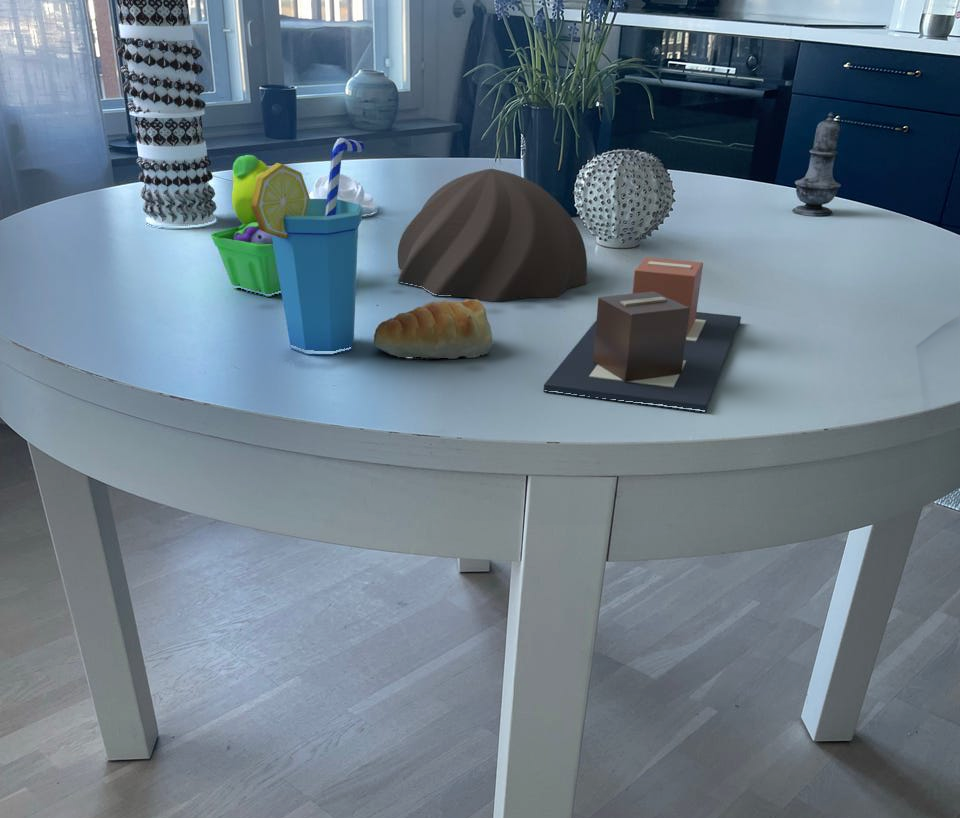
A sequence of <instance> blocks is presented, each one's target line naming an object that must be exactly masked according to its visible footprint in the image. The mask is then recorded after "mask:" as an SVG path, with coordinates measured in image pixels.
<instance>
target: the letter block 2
mask: <svg viewBox="0 0 960 818" xmlns="http://www.w3.org/2000/svg"><path fill="white" fill-rule="evenodd" d="M689 313H690V308H689V307H686V306H684V305H682V304H680V303H678V302H676V301H674V300H672V299H669V298H667V297H665V296H663V295H661V294H659V293H657V292H654V291H653V292H643V293H633V294H632V293H624V294H615V295H606V296H605V295H603V296H598V298H597V309H596V319H595V321H596V332H595V344H594V356H593V362H595V363H596V364H598V365H599V366H601V367H603V368H604V369H606V370H608V371H609V372H611V373H612V374H614V375H616V376H617V377H619V378H620V379H622V380H624V381H633V380H640V379H648V378H655V377H662V376H670V375H677V374H681V373H682V365H683V358H684V350H685V343H686V335H687V328H688V320H689Z"/></svg>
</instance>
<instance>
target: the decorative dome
mask: <svg viewBox="0 0 960 818" xmlns="http://www.w3.org/2000/svg"><path fill="white" fill-rule="evenodd" d="M587 258H588V257H587V251H586V246H585V243H584V239H583V237H582V234H581V232H580V230H579V228H578V226H577V224H576V223H575V221H574V220H573V218H572V217H571V215H570V214H569V213H568V211H567V209H565V208H564V207H563V206H562V204H561V203H560V202H559V201H557V199H555V197H554V196H552V195H551V194H550V193H549V192H548V191H547V190H546V189H544V188H543V187H541V186H540V185H538V184H536V183H535V182H534V181H531V180H529V179H528V178H525V177H523V176H520V175H517V174H515V173H511V172H509V171H504V170H500V169H495V168H487V169H481V170H478V171H474V172H471V173H467V174H464V175H462V176H459V177H457V178H454V179H453V180H451V181H448V182H447V183H446V184H444V185H442V186H441V187H440V188H438V189H437V190H436V191H435V192H434V193H433V194H432V195H431V196H430V197H429V198H428V199H427V200H426V202H425V203H424V205H423V206H422V208H421V210H420V211H419V212H418V213H417V214H416V215H415V216H414V217H413V218H412V220H410V222H409V224H408V225H407V226H406V227H405V229H404V231H403V233H402V234H401V236H400V239H399V242H398V247H397V266H398V269H399V268H400V269H401V270H402V271H401V270H400V269H399V270H400V274H399V277H398V279H397V283H398V284H401V285H405V286H410V287H415V288H419V289H422V290H424V291H425V292H427V293H428V294H430V295H432V296H434V297H439V296H438V295H451V296H442V297H443V298H444V297H449V298H471V299H478V300H481V301H482V300H483V301H488V302H494V303H495V302H496V303H498V302H500V303H501V302H506V301H512V300H517V299H518V300H519V299H522V298H523V299H524V298H556V297H559V296H561V294H563V292H564V291H565V290H567V289H571V288H575V287H580V286H585V285H586V284H587V275H588V259H587ZM398 281H399V282H398ZM400 282H403V283H400ZM404 283H408V284H404ZM409 284H413V285H409ZM414 285H417V286H414ZM418 286H422V287H424V288H425V289H427V290H429V291H430V292H432V293H434V294H437V295H433V294H432V293H430V292H428V291H427V290H425V289H424V288H422V287H418Z"/></svg>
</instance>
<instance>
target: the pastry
mask: <svg viewBox="0 0 960 818" xmlns="http://www.w3.org/2000/svg"><path fill="white" fill-rule="evenodd" d="M487 315H488V314H487V311H486V307H485V306H484V305H483V303H482V301H480V299H476V298H474V299H469V298H466V299H464V300H463V301H448V300H443V301H432V302H429V303H426V304H424V305H423V306H417V307H415V308H414V309H412V310H409V311H406V312H401V313H400V312H399V313H398V314H397V315H396V316H394V317H390V318H388V319H386V320H384V321H382V322H380V323H379V324H378V326H377V327H375V330H374V331H375V332H374V334H373V345H374V346H375V347H376V348H378V349H380V350H381V351H383V352H385V353H388V354H389V355H392V356H395V357H397V358H399V357H402V358H404V357H415V358H405V359H406V360H413V359H417V358H416V357H422V358H421V359H423V358H430V359H440V358H448V359H447V360H450V359H458V358H459V357H465V358H467V359H471V358H478V357H481V356H484V355H487V354H489V351H490V349H491V348H492V346H493V344H494V340H493V333H492V327H491V324H490V322H489V320H488V319H489V318H488V316H487ZM480 355H481V356H480ZM474 356H475V357H474ZM399 359H401V358H399Z"/></svg>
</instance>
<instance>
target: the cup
mask: <svg viewBox="0 0 960 818" xmlns="http://www.w3.org/2000/svg"><path fill="white" fill-rule="evenodd" d="M364 149H365V145H364V143H363V142H362V141H360V140H355V139H350V138H344V137H339V138H337V139H336V141H335V143H334V144H333V148H332V150H331V157H330V166H329V174H328V175H329V184H328V194H327V199H310V197H309V194H310V193H309V191H308V188H307V186H306V183H305V180H304V176H303V173H302V172H300V171H298V170H297V169H294V168H292V167H290V166H287V165H285V164H282V163H279V162H275V164H273V165H272V166H270V167H268V168H269V169H267V170H266V171H265V172H263V173H262V174H261V175H259V176H258V177H257V181H256V186H255V190H254V194H253V198H252V203H251V207H252V209H253V212H254V215H255V217H256V220H257V222H258V225H259V228H260V230H261V231H264V232H266V233H269V234H271V235H272V241H273V246H274V252H275V258H276V264H277V270H278V276H279V282H280V288H281V298H282V305H283V311H284V317H285V322H286V323H285V324H286V328H287V333H288V334H287V335H288V339H289V346H290V345H293V346H296V347H298V348H301V349H304V350H314V351H336V350H339V349H344V348H345V349H346V348H349V347H352V348H351V349H349V350H345V351H341V352H337V353H334V354H306V353H303V352H301V351H298V350H295V349H293V348H291V347H290V349H291V350H293V351H296V352H299V353H301V354H304V355H307V356H334V355H337V354H341V353H346V352H349V351H352V349H353V346H354V343H355V321H356V320H355V318H356V295H357V294H356V291H357V270H358V269H357V266H358V244H359V243H358V238H359V227H360V225H361V222H362V218H363V217H362V206H361V205H359V204H355V203H351V202H347V201H342V200H338V199H337V196H338V187H339V178H340V174H341V167H342V160H343V159H342V157H343V154H344V151H345V152H353V153H362V152H363V151H364ZM353 341H354V342H353ZM352 344H353V345H352Z"/></svg>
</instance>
